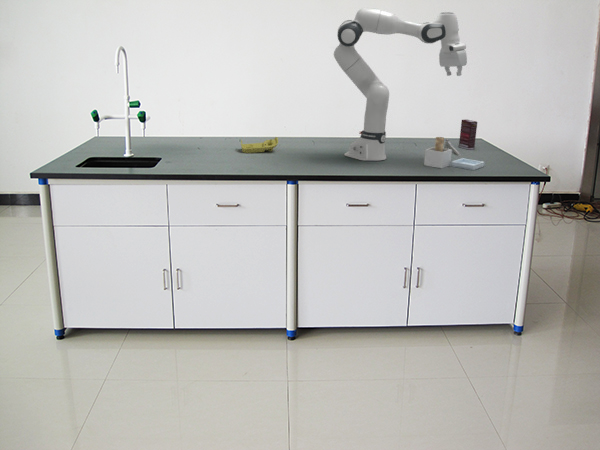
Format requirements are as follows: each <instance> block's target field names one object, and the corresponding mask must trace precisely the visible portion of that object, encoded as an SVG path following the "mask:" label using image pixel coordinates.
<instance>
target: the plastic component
mask: <svg viewBox="0 0 600 450" xmlns="http://www.w3.org/2000/svg"><path fill="white" fill-rule="evenodd" d="M240 144H241V145H240V147H241V152H242V153H244V154H253V153H264V152H266V151H267V152H273V151H274V148H276V147H277V146H278V144H279V139H278V137H274V139H266V140H264V141H263V142H256V143H255V142H254V143H253V142H252V143H243V140H242V139H240ZM265 150H266V151H265Z"/></svg>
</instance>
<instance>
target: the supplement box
mask: <svg viewBox="0 0 600 450" xmlns="http://www.w3.org/2000/svg"><path fill="white" fill-rule="evenodd" d="M477 128H478V121H477V120H473V119H472V120H470V119H461V123H460V133H459V134H460V135H459V140H458V141H459V142H458V148H461V149H465V150H475V145H476V138H477V130H478V129H477Z"/></svg>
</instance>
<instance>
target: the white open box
mask: <svg viewBox="0 0 600 450" xmlns="http://www.w3.org/2000/svg"><path fill="white" fill-rule="evenodd" d="M452 153H453V151H452V150H451V149H449V148H448V149H445V148H444V147H443V152H439V151H435V146H433V147H429V148H426V149H425V152H424V162H423V166H427V167H433V168H436V169H437V168H438V169H444V168H447V167H449V166H450V167H451V162H452Z"/></svg>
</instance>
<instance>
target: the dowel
mask: <svg viewBox="0 0 600 450" xmlns="http://www.w3.org/2000/svg"><path fill="white" fill-rule="evenodd" d="M434 144H435V145H434V147H435V151H439V152H443V148H444V145H445V137H442V136H437V137H435V143H434Z"/></svg>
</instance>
